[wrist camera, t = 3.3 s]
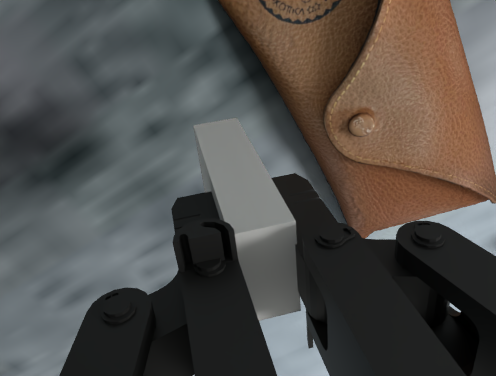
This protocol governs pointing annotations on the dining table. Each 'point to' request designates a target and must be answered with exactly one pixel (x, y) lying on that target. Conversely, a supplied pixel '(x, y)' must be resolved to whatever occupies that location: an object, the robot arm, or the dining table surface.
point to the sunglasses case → (377, 102)
